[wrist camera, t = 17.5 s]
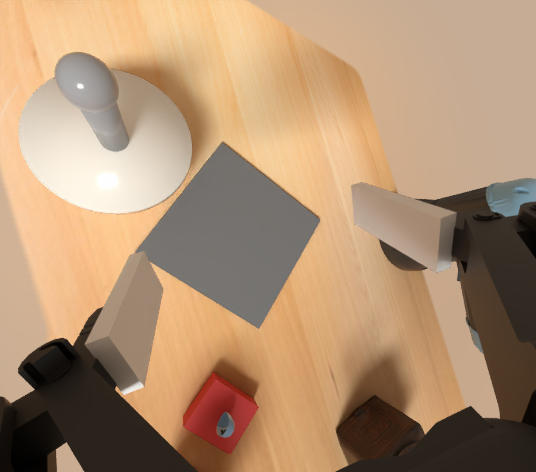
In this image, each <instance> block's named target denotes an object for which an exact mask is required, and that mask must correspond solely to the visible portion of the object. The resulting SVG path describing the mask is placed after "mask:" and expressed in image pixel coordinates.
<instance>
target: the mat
mask: <svg viewBox="0 0 536 472" xmlns="http://www.w3.org/2000/svg"><path fill="white" fill-rule="evenodd" d="M319 222H320V219H319V218H317V217H316V216H315V215H314V214H312V213H311V212H310V211H309V210H307V209H306V208H305V207H303V206H302V205H301V204H300V203H298V202H297V201H296V200H295V199H293V198H292V197H291V196H290V195H288V194H287V193H286V192H284V191H283V190H282V189H281V188H279V187H278V186H277V185H276V184H274V183H273V182H272V181H271V180H269V179H268V178H267V177H265V176H264V175H263V174H262V173H260V172H259V171H258V170H257V169H255V168H254V167H253V166H252V165H250V164H249V163H248V162H246V161H245V160H244V159H243V158H241V157H240V156H239V155H238V154H236V153H235V152H234V151H232V150H231V149H230V148H229V147H227V146H226V145H225V144H224V143H221V144H220V146H219V147H218V148H217V149H216V151H215V152H214V153H213V155H212V156H211V157H210V158H209V160H208V161H207V162H206V163H205V165H204V166H203V167H202V168H201V170H200V171H199V172H198V173H197V175H196V176H195V177H194V178H193V180H192V181H191V182H190V184H189V185H188V186H187V187H186V189H185V190H184V191H183V192H182V194H181V195H180V196H179V197H178V199H177V200H176V201H175V202H174V204H173V205H172V206H171V207H170V209H169V210H168V211H167V213H166V214H165V215H164V216H163V218H162V219H161V220H160V221H159V223H158V224H157V225H156V226H155V228H154V229H153V230H152V231H151V233H150V234H149V235H148V236H147V238H146V239H145V240H144V241H143V243H142V244H141V245H140V247H139V248H138V249H137V250H136V252H135V253H138V252H141V251H144V252H145V254H146V256H147V258H148V260H149V261H150V262H152V263H153V264H155V265H156V266H158V267H160V268H161V269H163V270H165V271H166V272H168V273H169V274H171V275H173V276H174V277H176V278H178V279H179V280H181V281H182V282H184V283H186V284H187V285H189V286H190V287H192V288H194V289H195V290H197V291H199V292H200V293H202V294H203V295H205V296H207V297H208V298H210V299H212V300H213V301H215V302H216V303H218V304H220V305H221V306H223V307H225V308H226V309H228V310H229V311H231V312H233V313H234V314H236V315H237V316H239V317H241V318H242V319H244V320H246V321H247V322H249V323H250V324H252V325H254V326H255V327H257V328H260V326H261V324H262V323H263V321H264V319H265V317H266V316H267V314H268V312H269V310H270V309H271V307H272V305H273V303H274V301H275V300H276V298H277V296H278V294H279V293H280V291H281V289H282V287H283V286H284V284H285V282H286V280H287V278H288V277H289V275H290V273H291V271H292V270H293V268H294V266H295V264H296V263H297V261H298V259H299V257H300V256H301V254H302V252H303V250H304V248H305V247H306V245H307V243H308V241H309V240H310V238H311V236H312V234H313V233H314V231H315V229H316V227H317V225H318V224H319Z"/></svg>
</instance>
